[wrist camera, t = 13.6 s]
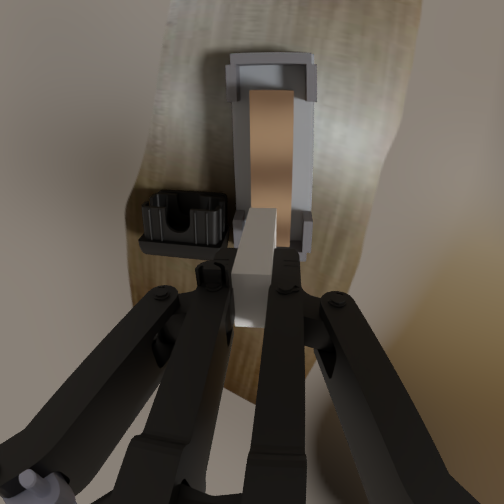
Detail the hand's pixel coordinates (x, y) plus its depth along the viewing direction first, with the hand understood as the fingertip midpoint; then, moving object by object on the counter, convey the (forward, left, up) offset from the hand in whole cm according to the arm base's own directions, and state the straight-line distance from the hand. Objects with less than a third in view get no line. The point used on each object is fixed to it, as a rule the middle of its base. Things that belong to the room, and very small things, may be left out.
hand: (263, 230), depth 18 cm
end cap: (+8, -11, -21) cm, 25 cm away
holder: (0, 0, -20) cm, 20 cm away
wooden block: (0, 0, -19) cm, 19 cm away
